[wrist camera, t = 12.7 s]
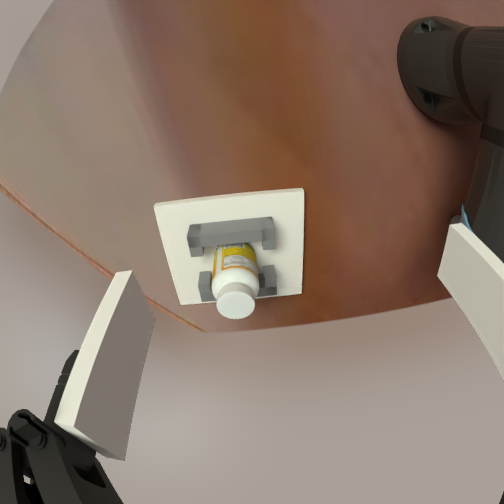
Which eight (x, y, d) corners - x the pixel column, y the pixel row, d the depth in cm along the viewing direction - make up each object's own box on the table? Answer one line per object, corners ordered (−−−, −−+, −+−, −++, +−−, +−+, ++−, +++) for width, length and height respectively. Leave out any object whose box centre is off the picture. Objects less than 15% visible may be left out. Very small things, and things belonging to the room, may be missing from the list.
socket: (302, 188, 34) (310, 201, 31) (300, 289, 43) (305, 307, 39) (155, 203, 34) (147, 217, 30) (181, 300, 43) (178, 319, 39)
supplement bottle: (235, 228, 35) (237, 277, 27) (263, 254, 38) (272, 306, 30) (205, 253, 37) (199, 305, 29) (233, 277, 39) (235, 330, 31)
